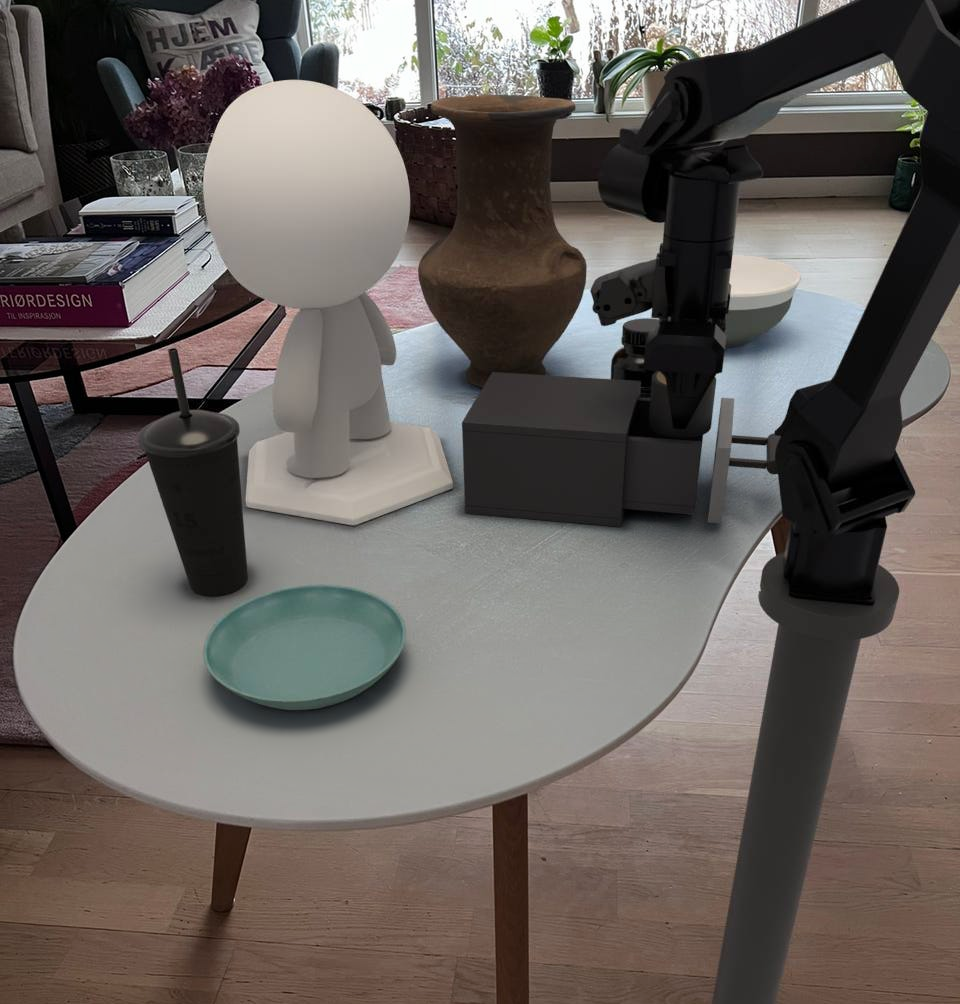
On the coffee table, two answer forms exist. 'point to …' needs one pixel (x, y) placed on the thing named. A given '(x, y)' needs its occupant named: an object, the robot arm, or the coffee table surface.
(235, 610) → the saucer
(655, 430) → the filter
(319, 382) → the white cartoon figure
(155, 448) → the drinking cup
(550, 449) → the drawer cabinet
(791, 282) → the bowl
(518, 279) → the vase
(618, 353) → the supplement bottle
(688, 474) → the drawer
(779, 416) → the coffee table surface
